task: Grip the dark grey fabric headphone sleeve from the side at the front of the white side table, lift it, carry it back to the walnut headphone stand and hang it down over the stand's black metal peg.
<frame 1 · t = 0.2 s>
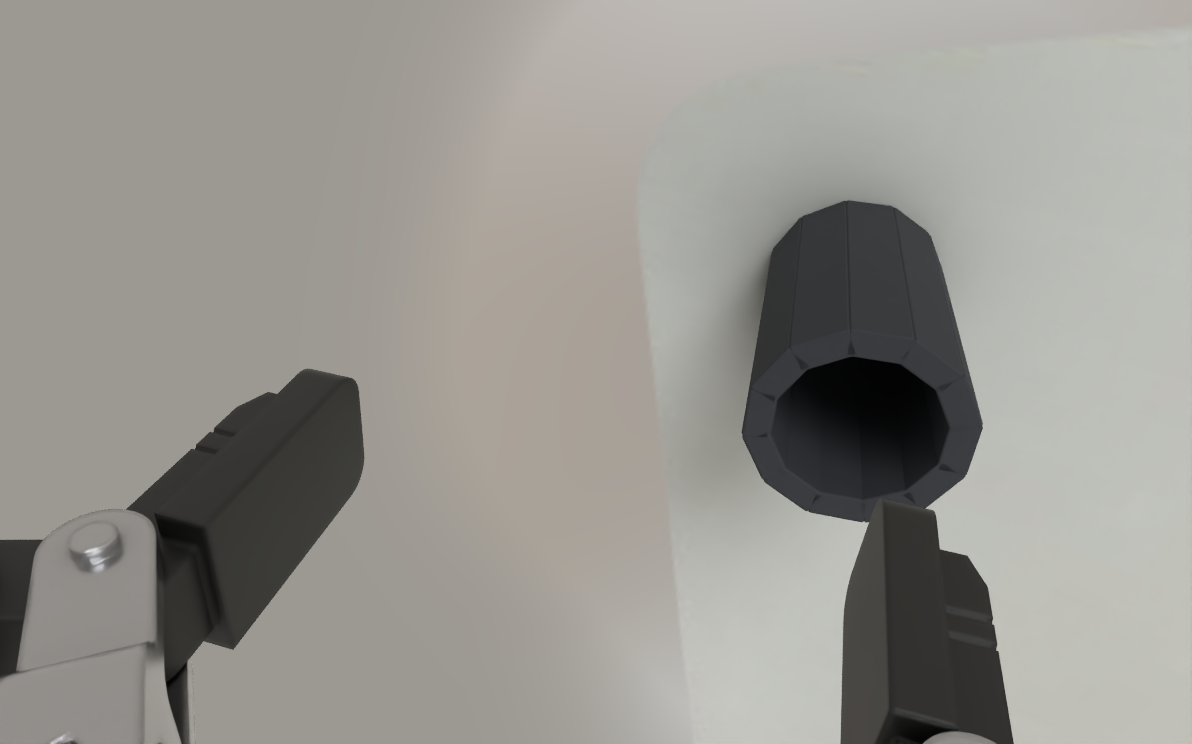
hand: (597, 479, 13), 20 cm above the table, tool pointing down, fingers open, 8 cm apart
headphone sleeve: (851, 281, 31), on the table
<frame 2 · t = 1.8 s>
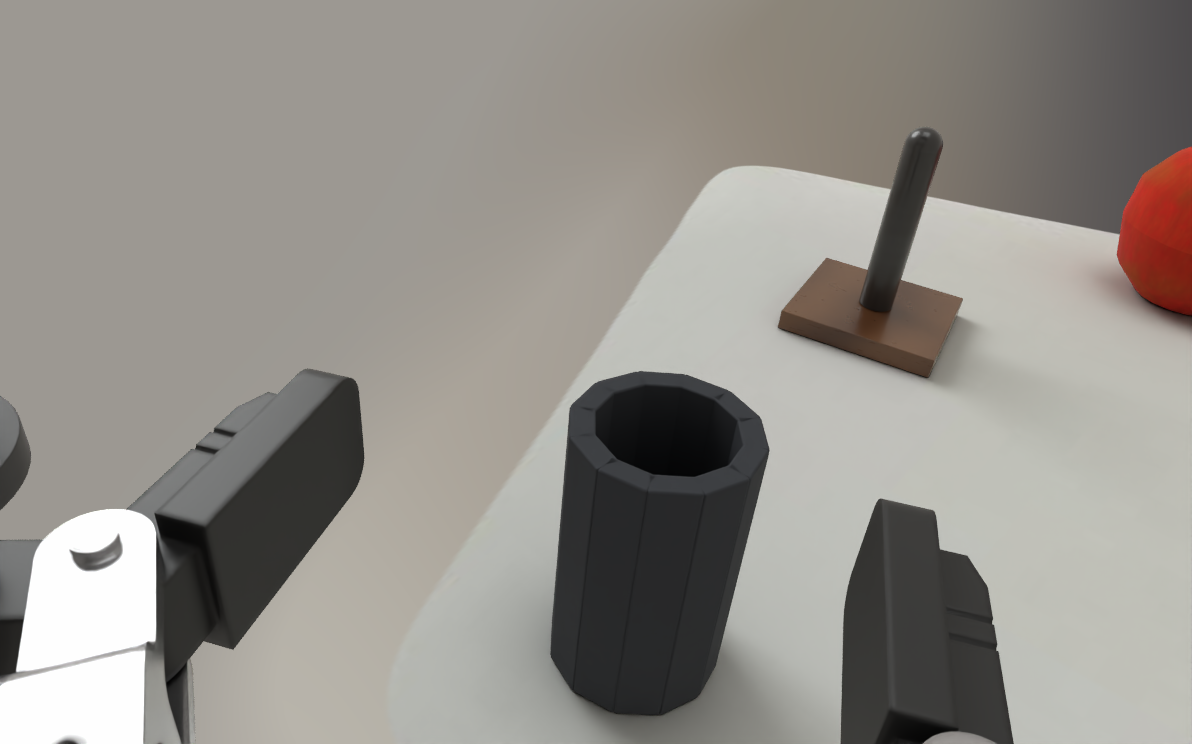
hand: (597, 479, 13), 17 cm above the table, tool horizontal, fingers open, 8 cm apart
headphone sleeve: (632, 642, 32), on the table
headphone stand: (870, 320, 54), on the table
apple: (1172, 301, 60), on the table
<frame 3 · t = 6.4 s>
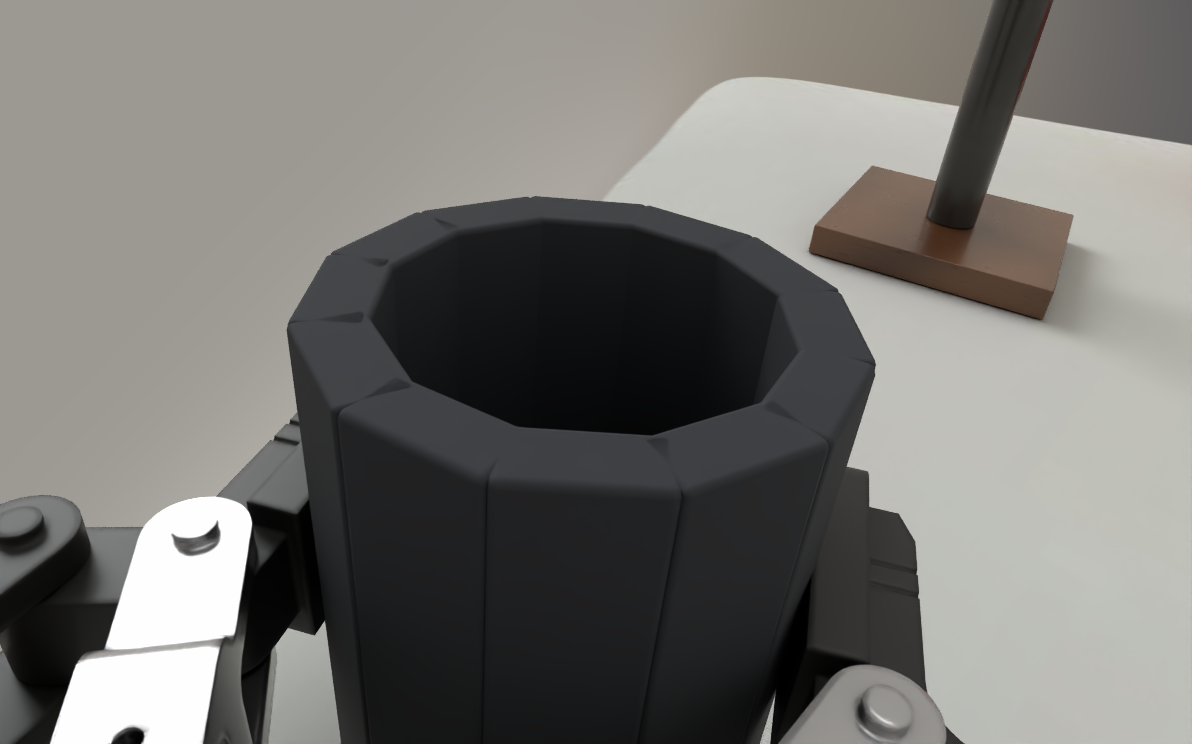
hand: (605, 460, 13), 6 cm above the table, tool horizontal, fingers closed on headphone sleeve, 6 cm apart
headphone stand: (941, 245, 37), on the table
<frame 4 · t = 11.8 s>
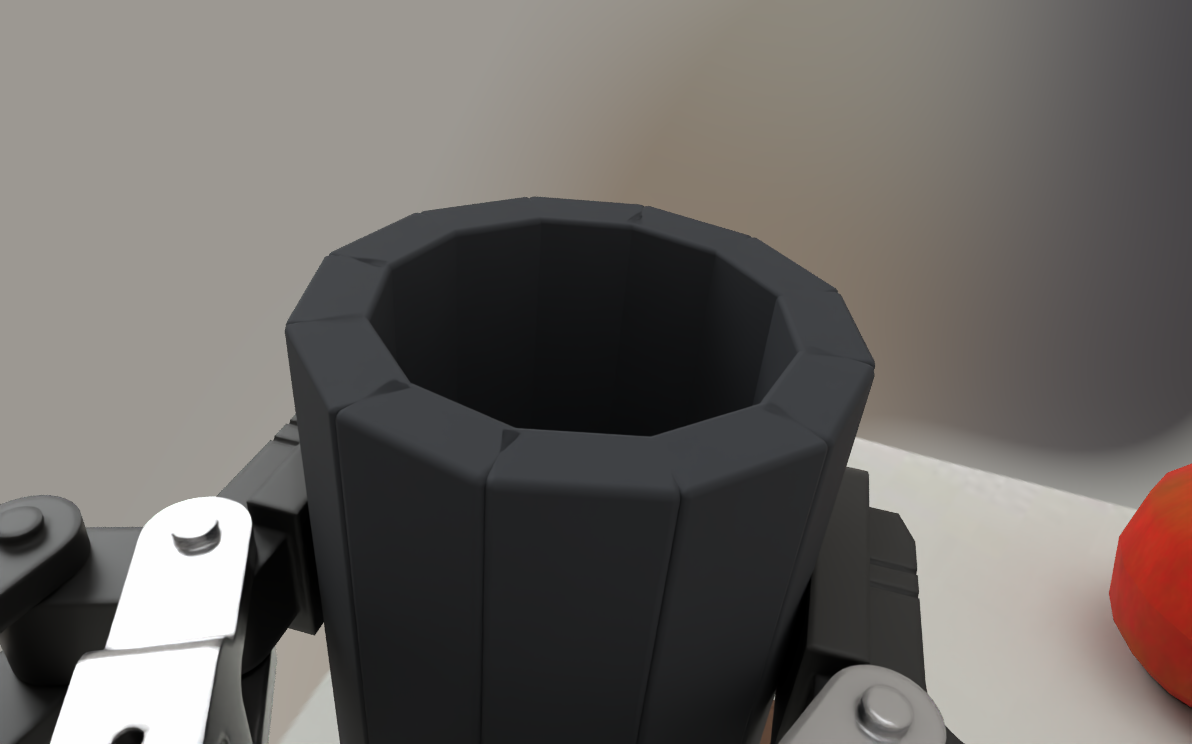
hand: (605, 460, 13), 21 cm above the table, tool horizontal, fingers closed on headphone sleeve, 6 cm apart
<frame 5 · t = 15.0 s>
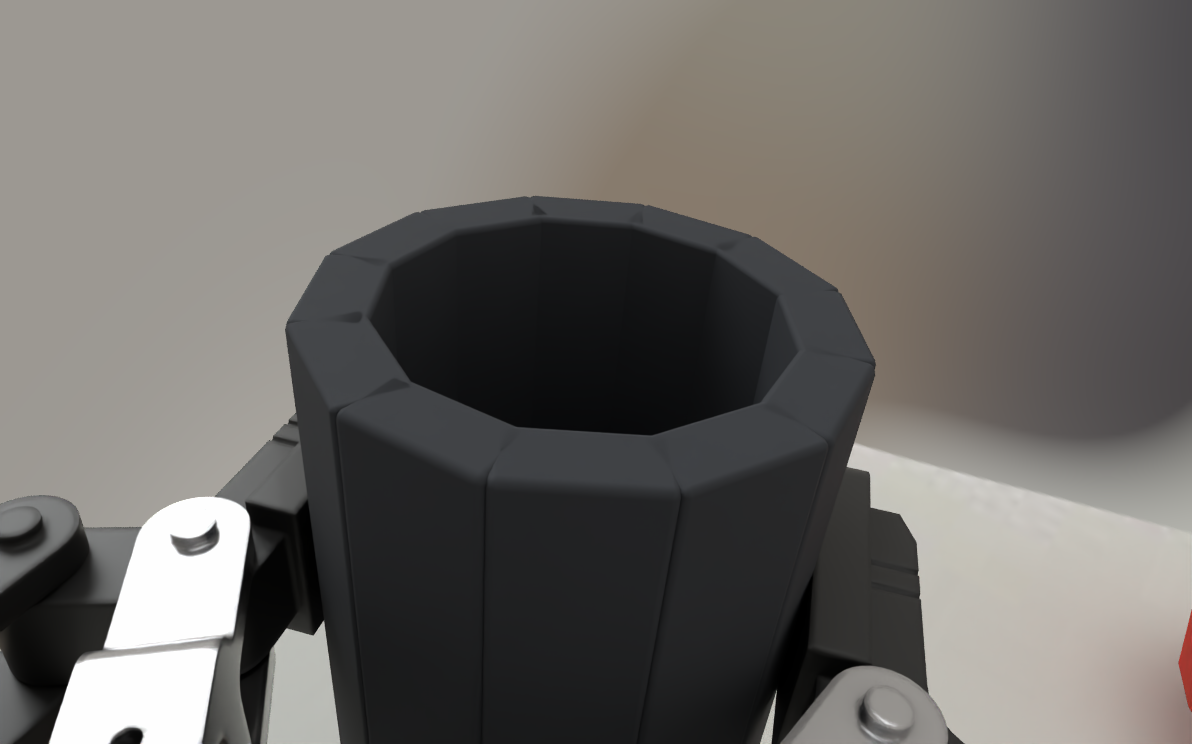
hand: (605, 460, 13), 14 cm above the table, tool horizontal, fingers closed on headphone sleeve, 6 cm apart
when the fingers open (7 cm above the table, at t = 17.4 s): headphone sleeve stays where it is, resting on headphone stand.
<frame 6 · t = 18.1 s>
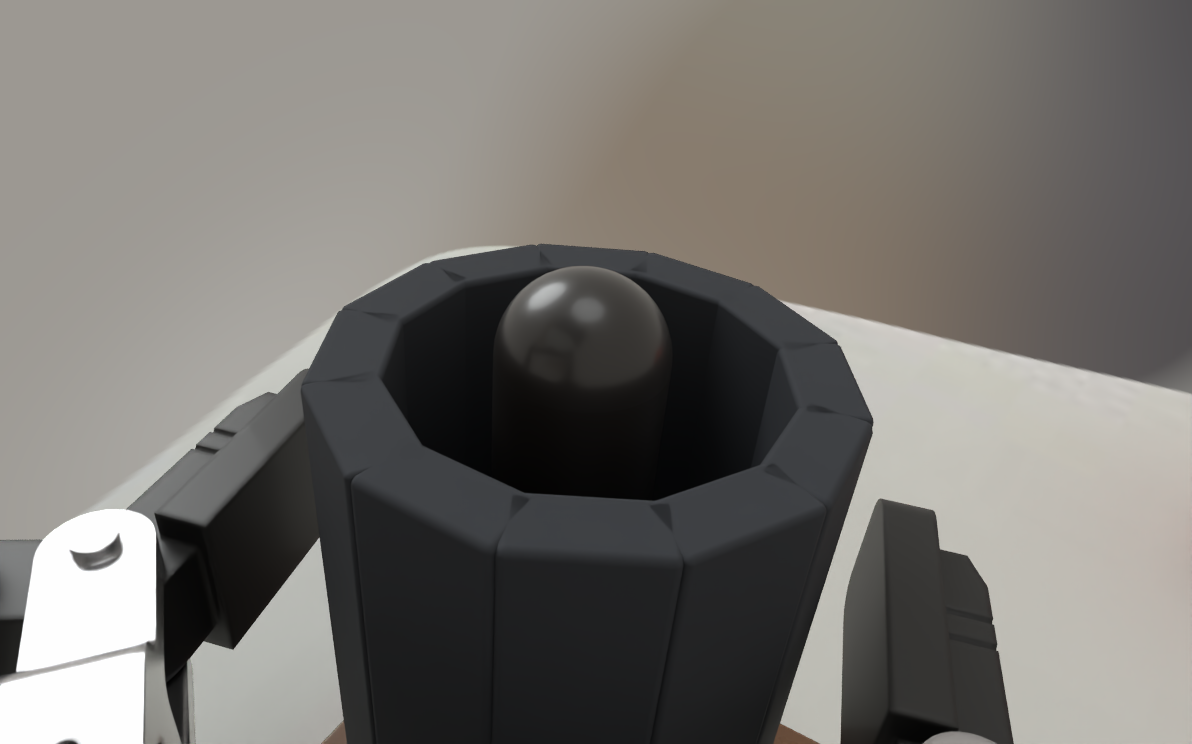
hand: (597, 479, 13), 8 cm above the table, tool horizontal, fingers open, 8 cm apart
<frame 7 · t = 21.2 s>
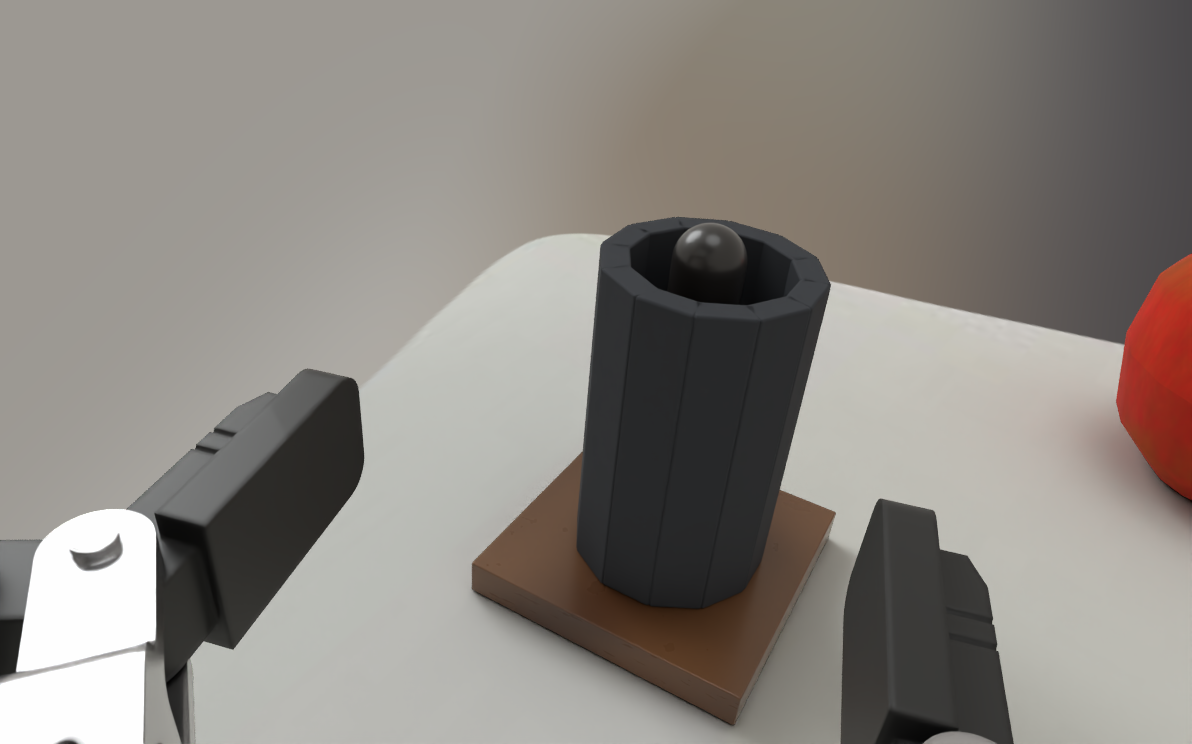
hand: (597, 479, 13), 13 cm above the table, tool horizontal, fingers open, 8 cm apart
headphone sleeve: (667, 537, 28), point 1 cm above the table, touching headphone stand
headphone stand: (660, 561, 29), on the table
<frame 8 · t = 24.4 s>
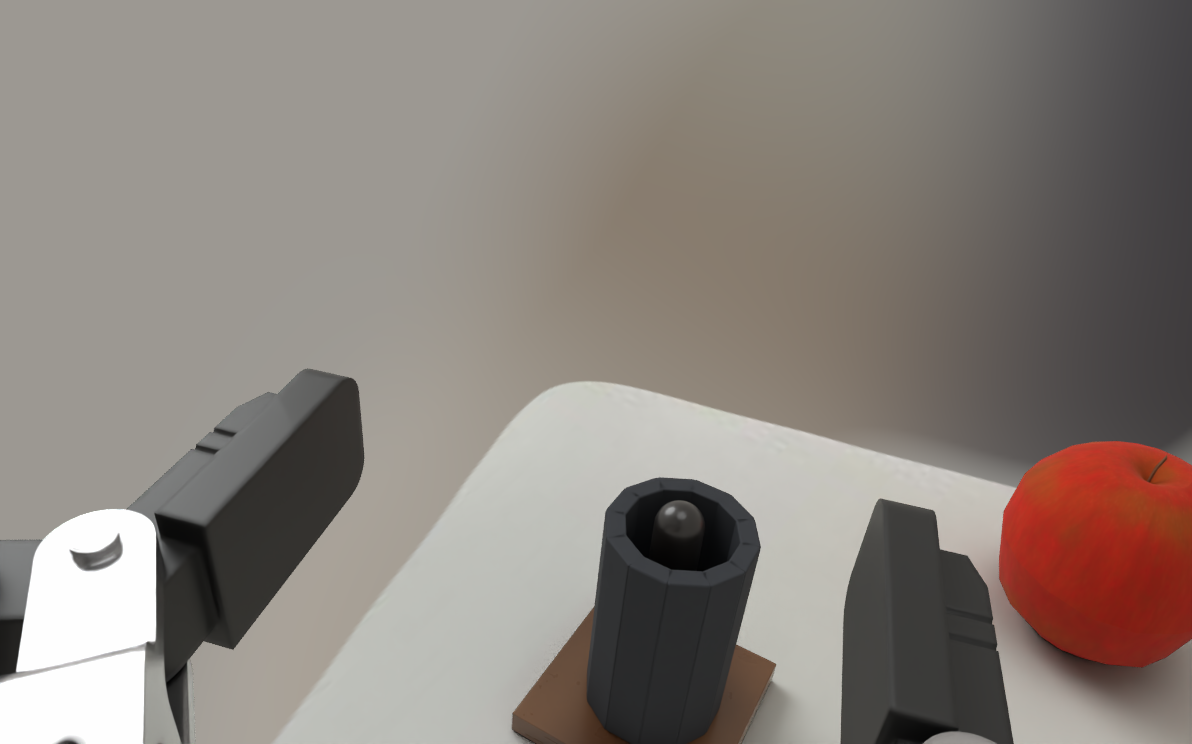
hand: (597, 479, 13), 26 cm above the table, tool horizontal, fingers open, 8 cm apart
headphone sleeve: (652, 689, 39), point 1 cm above the table, touching headphone stand
headphone stand: (647, 703, 40), on the table
apple: (1069, 624, 46), on the table
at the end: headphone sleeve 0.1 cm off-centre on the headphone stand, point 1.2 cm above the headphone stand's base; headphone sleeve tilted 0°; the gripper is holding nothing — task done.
